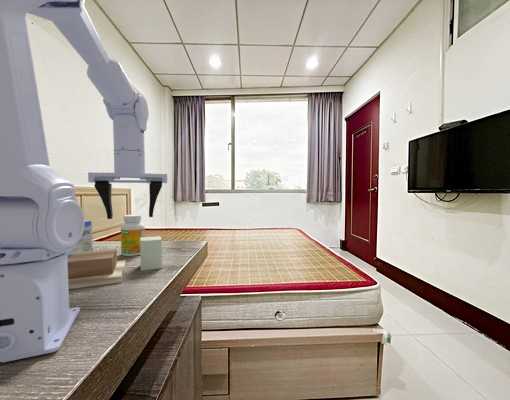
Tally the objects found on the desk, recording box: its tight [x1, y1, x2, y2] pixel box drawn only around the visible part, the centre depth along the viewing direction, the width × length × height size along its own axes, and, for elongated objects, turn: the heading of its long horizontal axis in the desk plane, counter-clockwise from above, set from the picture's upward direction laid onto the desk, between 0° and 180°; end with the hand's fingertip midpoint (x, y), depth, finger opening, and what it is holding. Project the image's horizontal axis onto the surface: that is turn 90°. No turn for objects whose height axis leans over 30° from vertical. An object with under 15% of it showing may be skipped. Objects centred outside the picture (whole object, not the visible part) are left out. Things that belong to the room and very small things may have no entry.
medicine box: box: [67, 220, 94, 260], centre depth 58 cm, size 8×4×9 cm, turn 168°
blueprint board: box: [67, 248, 127, 290], centre depth 47 cm, size 11×10×4 cm
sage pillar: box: [139, 235, 163, 271], centre depth 53 cm, size 4×4×6 cm
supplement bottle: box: [120, 214, 146, 257], centre depth 63 cm, size 5×5×10 cm
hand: (131, 217), depth 53 cm, fingers open, 7 cm apart
